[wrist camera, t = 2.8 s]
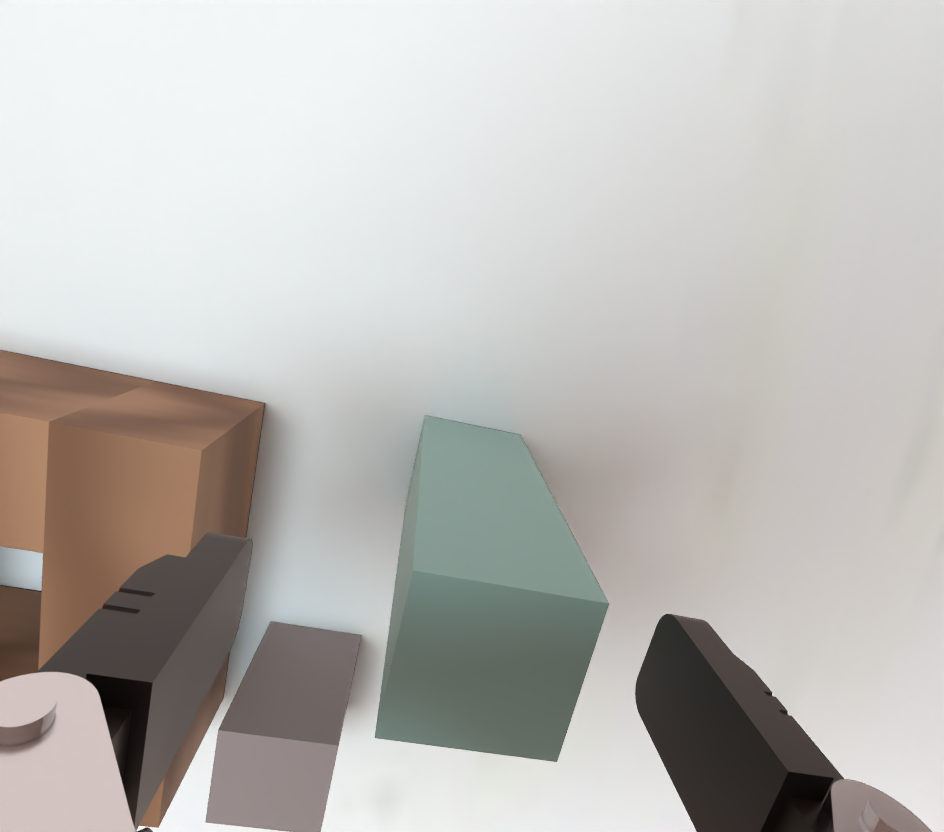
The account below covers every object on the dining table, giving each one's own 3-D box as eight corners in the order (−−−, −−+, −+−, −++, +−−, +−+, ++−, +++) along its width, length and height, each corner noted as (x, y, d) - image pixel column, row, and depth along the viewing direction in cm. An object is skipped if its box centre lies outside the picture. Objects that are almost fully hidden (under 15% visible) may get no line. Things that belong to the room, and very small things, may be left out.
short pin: (361, 634, 20) (337, 746, 16) (346, 707, 21) (319, 834, 16) (270, 620, 20) (218, 729, 15) (259, 695, 21) (205, 822, 16)
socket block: (264, 403, 18) (201, 450, 13) (223, 699, 21) (158, 827, 16) (-133, 323, 16) (-367, 343, 12) (-120, 652, 19) (-306, 778, 14)
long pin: (520, 434, 19) (609, 604, 9) (497, 522, 20) (556, 761, 10) (425, 415, 18) (413, 570, 9) (405, 504, 19) (374, 737, 10)
